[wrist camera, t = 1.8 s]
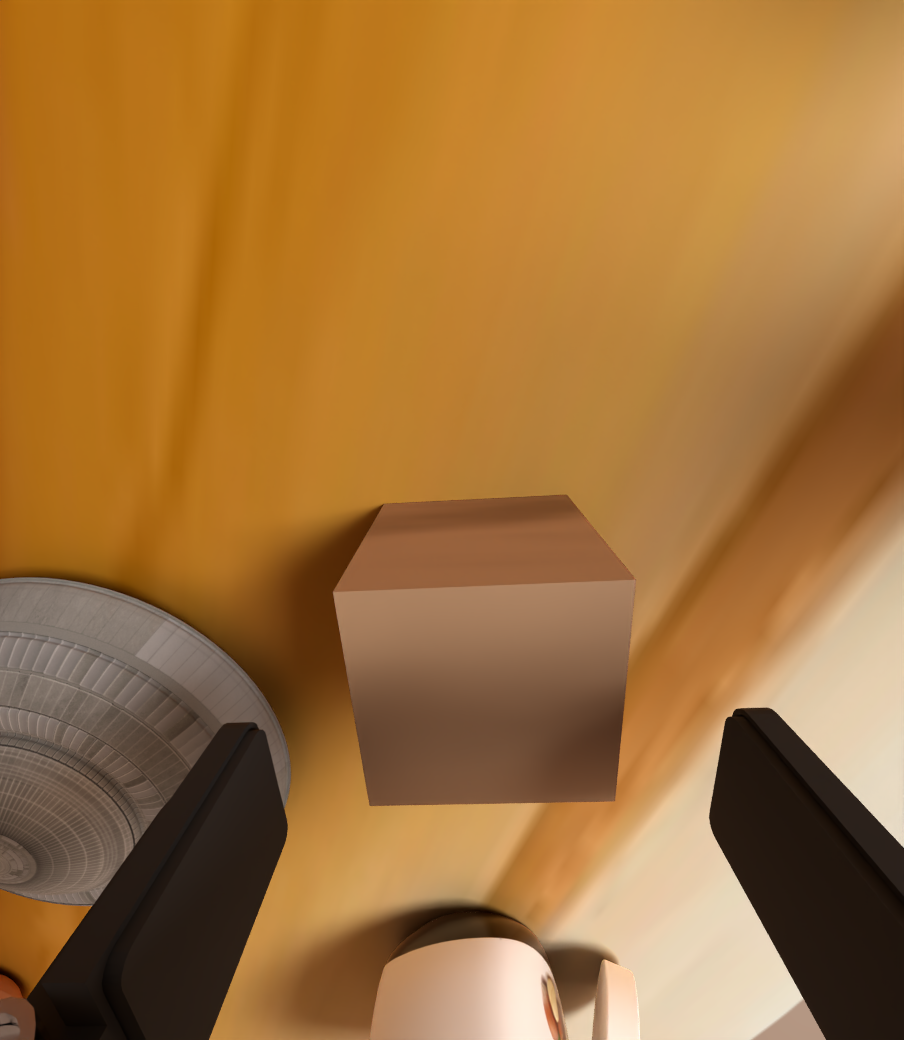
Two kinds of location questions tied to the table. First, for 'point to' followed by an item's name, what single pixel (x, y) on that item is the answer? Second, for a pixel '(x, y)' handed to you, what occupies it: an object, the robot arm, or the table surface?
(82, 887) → the flying saucer
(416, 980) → the spread jar
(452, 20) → the table surface
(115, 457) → the table surface
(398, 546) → the walnut block
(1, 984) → the egg
